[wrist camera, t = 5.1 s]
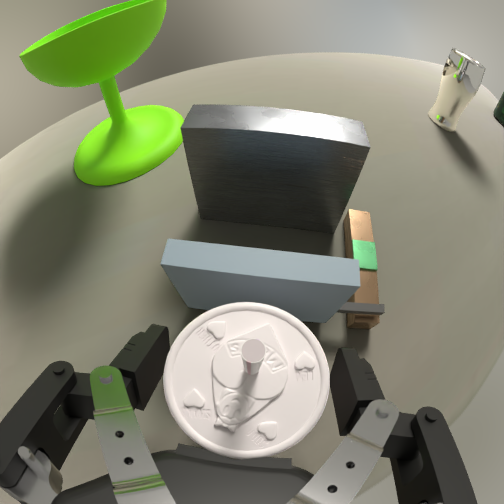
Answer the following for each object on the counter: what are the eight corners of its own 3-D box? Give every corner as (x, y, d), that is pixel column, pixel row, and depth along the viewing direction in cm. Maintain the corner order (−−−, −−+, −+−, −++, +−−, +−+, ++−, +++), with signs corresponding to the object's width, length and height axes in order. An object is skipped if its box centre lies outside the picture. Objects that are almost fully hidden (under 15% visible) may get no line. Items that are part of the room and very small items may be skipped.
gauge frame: (178, 309, 20) (129, 241, 12) (207, 193, 26) (193, 104, 17) (369, 328, 20) (444, 275, 11) (361, 211, 25) (399, 130, 16)
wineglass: (162, 97, 36) (144, -4, 20) (208, 144, 30) (192, -7, 14) (70, 142, 32) (28, 45, 16) (82, 208, 25) (6, 70, 10)
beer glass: (425, 106, 39) (448, 44, 26) (455, 123, 37) (482, 64, 24) (425, 120, 36) (453, 50, 23) (458, 139, 34) (490, 73, 21)
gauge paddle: (188, 307, 19) (160, 263, 13) (192, 288, 20) (168, 238, 14) (374, 325, 19) (423, 291, 13) (373, 306, 19) (419, 266, 13)
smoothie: (305, 360, 19) (405, 291, 6) (273, 440, 16) (323, 529, 3) (223, 329, 20) (181, 212, 7) (188, 407, 17) (71, 421, 4)
